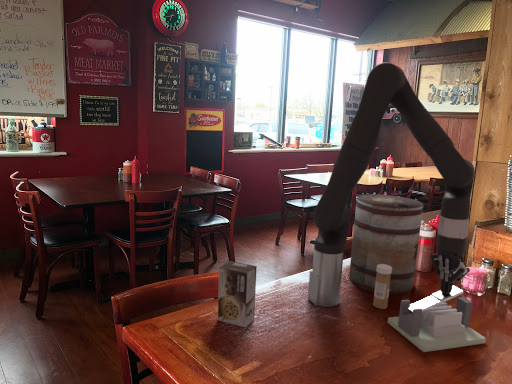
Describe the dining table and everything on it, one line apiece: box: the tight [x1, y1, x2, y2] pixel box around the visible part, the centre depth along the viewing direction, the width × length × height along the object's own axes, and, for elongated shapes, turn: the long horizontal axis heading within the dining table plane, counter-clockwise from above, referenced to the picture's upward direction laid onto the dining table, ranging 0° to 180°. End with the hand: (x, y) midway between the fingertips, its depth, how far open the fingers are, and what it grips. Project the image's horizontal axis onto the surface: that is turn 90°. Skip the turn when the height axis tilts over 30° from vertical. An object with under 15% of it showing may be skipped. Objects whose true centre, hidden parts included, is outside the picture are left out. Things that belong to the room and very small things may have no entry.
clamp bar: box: [407, 285, 464, 313], centre depth 119 cm, size 16×4×1 cm, turn 107°
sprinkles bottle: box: [372, 264, 392, 310], centre depth 135 cm, size 5×5×14 cm
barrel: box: [348, 194, 424, 295], centre depth 154 cm, size 22×22×30 cm
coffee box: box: [217, 260, 257, 328], centre depth 122 cm, size 9×6×16 cm
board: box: [387, 296, 487, 353], centre depth 121 cm, size 20×16×9 cm
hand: (445, 292), depth 120 cm, fingers closed
